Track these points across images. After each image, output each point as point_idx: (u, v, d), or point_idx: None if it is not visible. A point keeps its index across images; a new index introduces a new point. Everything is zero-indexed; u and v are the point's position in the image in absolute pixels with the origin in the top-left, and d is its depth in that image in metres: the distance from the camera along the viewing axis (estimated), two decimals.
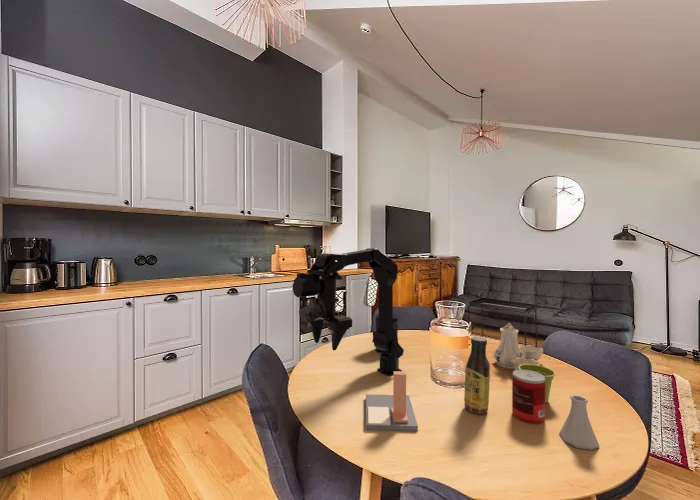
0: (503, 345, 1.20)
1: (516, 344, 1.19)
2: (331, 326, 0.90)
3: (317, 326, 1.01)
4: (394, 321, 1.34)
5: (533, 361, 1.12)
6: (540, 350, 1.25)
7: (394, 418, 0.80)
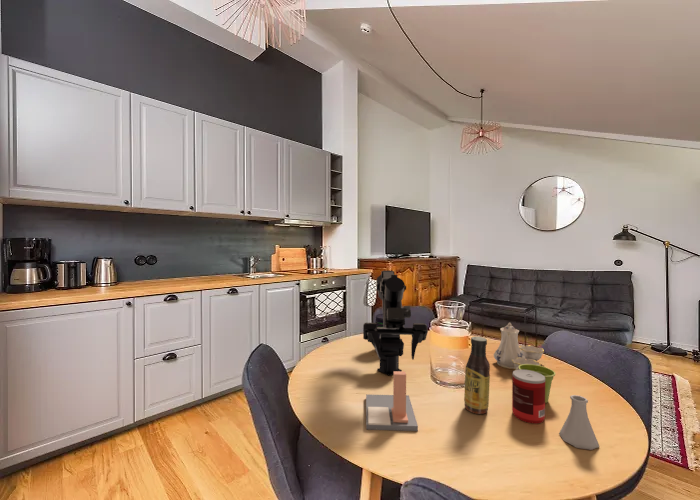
0: (503, 345, 1.20)
1: (516, 344, 1.19)
2: (420, 328, 0.93)
3: None
4: None
5: (533, 361, 1.12)
6: (540, 350, 1.25)
7: (394, 418, 0.80)
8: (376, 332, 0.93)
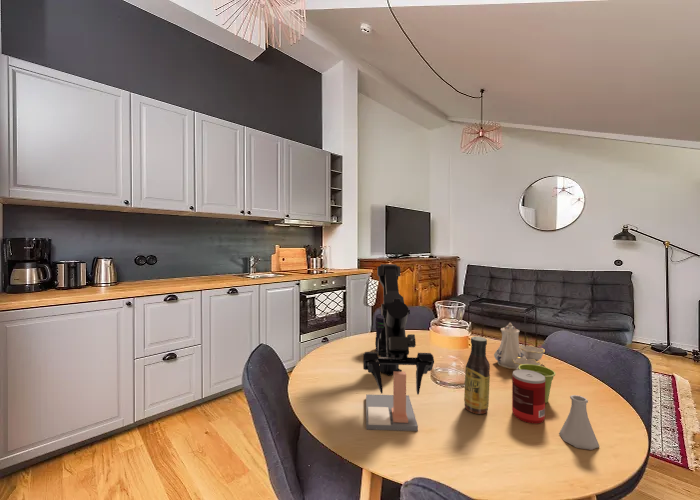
0: (504, 345, 1.20)
1: (517, 344, 1.19)
2: (425, 359, 0.84)
3: None
4: None
5: (534, 361, 1.12)
6: (541, 350, 1.25)
7: (394, 418, 0.80)
8: (377, 363, 0.84)
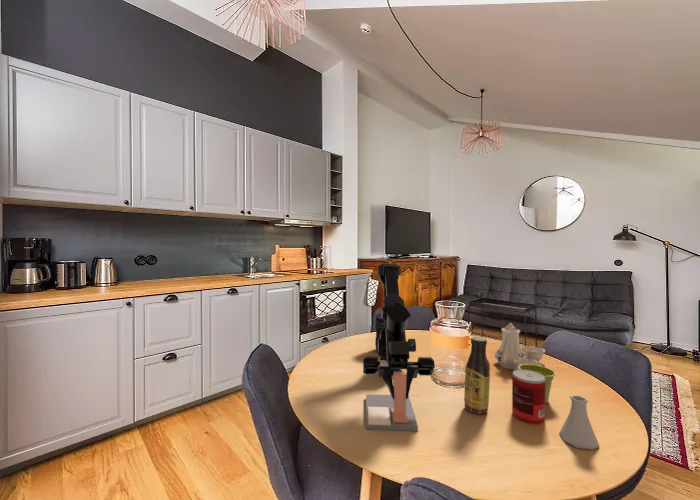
0: (505, 345, 1.20)
1: (518, 344, 1.19)
2: (426, 363, 0.84)
3: None
4: None
5: (535, 361, 1.12)
6: (542, 350, 1.25)
7: (394, 418, 0.80)
8: (389, 368, 0.83)
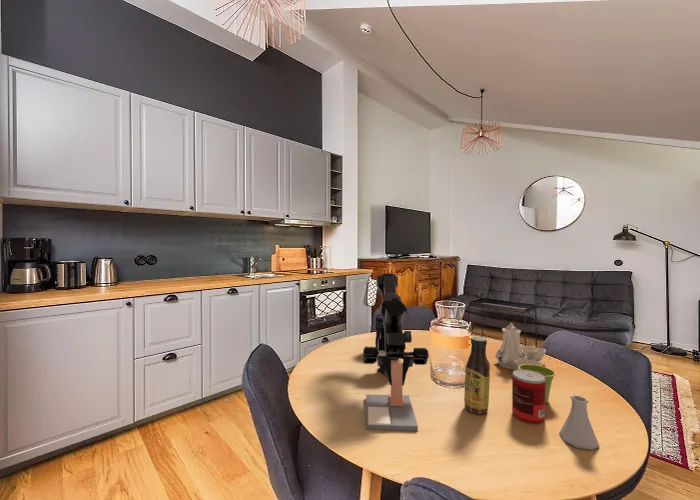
0: (505, 345, 1.20)
1: (518, 344, 1.19)
2: (420, 353, 0.92)
3: None
4: None
5: (535, 361, 1.12)
6: (542, 350, 1.25)
7: (391, 402, 0.88)
8: (387, 357, 0.91)
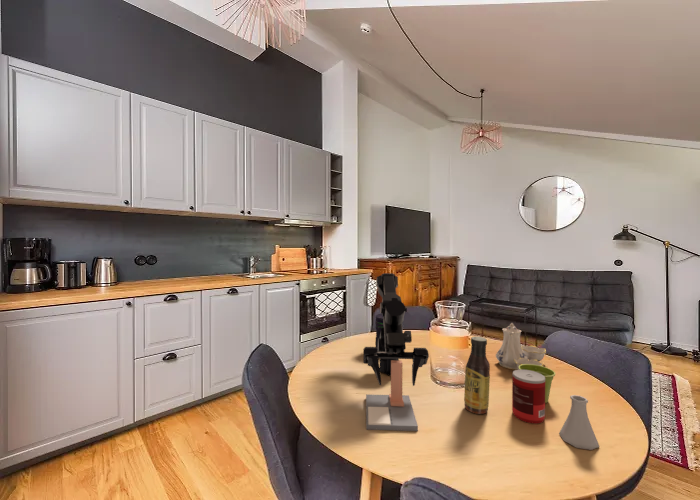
0: (506, 345, 1.20)
1: (519, 344, 1.19)
2: (420, 353, 0.92)
3: None
4: None
5: (536, 362, 1.12)
6: (543, 350, 1.25)
7: (391, 402, 0.88)
8: (376, 357, 0.91)
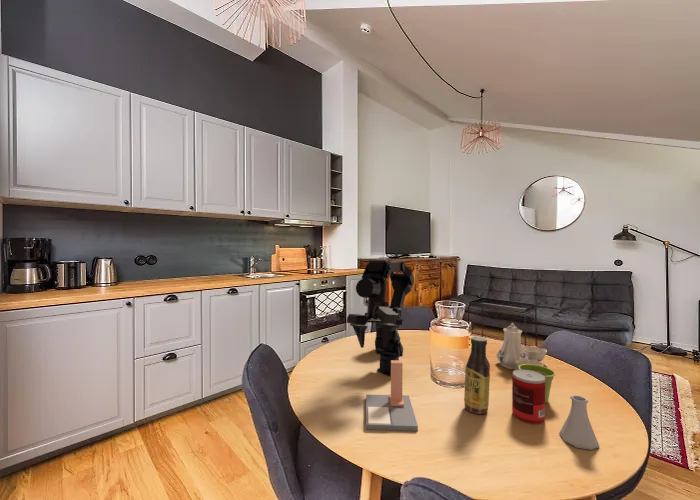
0: (506, 345, 1.20)
1: (519, 345, 1.19)
2: (398, 323, 1.05)
3: None
4: None
5: (537, 362, 1.12)
6: (543, 351, 1.25)
7: (391, 402, 0.88)
8: (366, 327, 0.98)
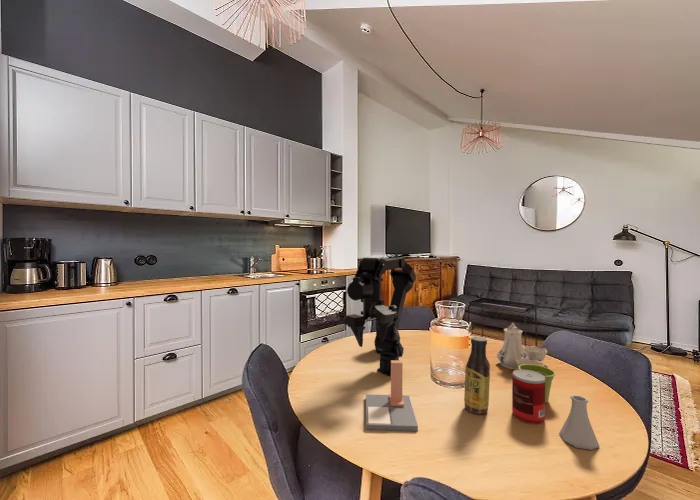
0: (507, 346, 1.20)
1: (520, 345, 1.19)
2: (394, 318, 1.06)
3: None
4: None
5: (537, 362, 1.12)
6: (544, 351, 1.24)
7: (391, 402, 0.88)
8: (364, 328, 0.99)
